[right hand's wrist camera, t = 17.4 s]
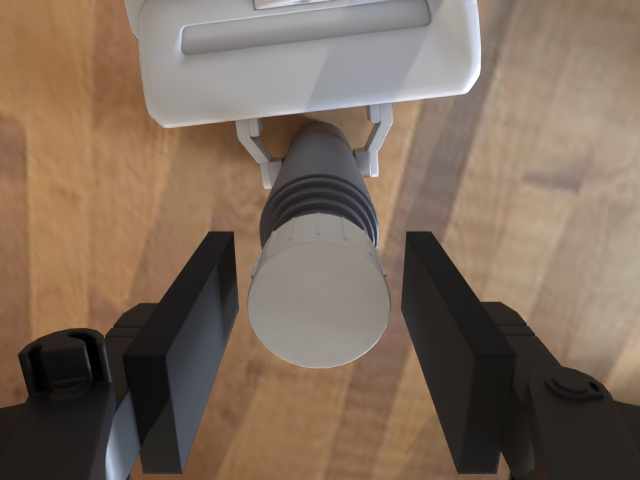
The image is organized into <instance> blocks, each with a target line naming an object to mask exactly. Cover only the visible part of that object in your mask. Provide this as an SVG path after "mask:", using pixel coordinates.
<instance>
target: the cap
mask: <svg viewBox="0 0 640 480" xmlns="http://www.w3.org/2000/svg"><path fill="white" fill-rule="evenodd" d="M385 276H386V273H385V270H384V267H383V264H382V260H381V257H380V254H379V251H378V249H375V247H374V245H373V243H372V241H371V240H370V238H369V237H368V236H367V235H366V232H365V230H363V231H362V230H361V229H360V228H359V227H358V226H356V225H355V224H354V223H352V222H350V221H348V220H346V219H345V218H344V217H342V218H341V217H338V216H334V215H330V214H320V213H317V214H309V215H304V216H300V217H297V218H295V217H294V218H292V220H290V221H288V222H286V223H285V224H283V225H282V226H280V227H279V228H278V229H277V230H276V231H273V232H272V234H271V236H270V237H269V239H268V240H267V242H266V244H265V245H264V247H263V250H262V251H261V250H260V252H259V255H258V258H257V261H256V264H255V267H254V270H253V272H252V275H251V278H253V279H252V282H251V286H250V289H249V293H248V302H247V307H248V315H249V320H250V323H251V325H252V328H253V330H254V332H255V334H256V335H257V337H258V338H259V340H260V341H261V342H262V343H263V345H264V346H265V347H266V348H267V349H268V350H270V351H271V352H272V353H273V354H275V355H276V356H278V357H280V358H281V359H283V360H285V361H287V362H290V363H293V364H296V365H299V366H303V367H310V368H328V367H335V366H339V365H343V364H345V363H348V362H351V361H353V360H355V359H357V358H359V357H360V356H362V355H363V354H365V353H366V352H367V351H368V350H369V349H371V348H372V347H373V346H374V344H375V343H376V342H377V341H378V340H379V338H380V337H381V335H382V334H383V332H384V330H385V328H386V325H387V323H388V320H389V315H390V305H391V302H390V294H389V290H388V286H387V283H386V280H385Z"/></svg>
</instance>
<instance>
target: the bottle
mask: <svg viewBox="0 0 640 480" xmlns="http://www.w3.org/2000/svg"><path fill="white" fill-rule="evenodd" d="M317 213H320V214H330V215H334V216H338V217H341V218H342V217H344V218H345V219H346V220H348V221H350V222H352V223H354V224H355V225H356V226H358V227H359V228H360V229H361V230H362V231H363V230H365V232H366V235H367V236H368V237H369V238H370V240H371V241H372V243H373V245H374V247H375V249H377V245H378V238H379V221H378V217H377V213H376V210H375V208H374V205H373V203H372V200H371V198H370V195H369V193H368V190H367V188H366V185H365V183H364V181H363V178H362V176H361V173H360V171H359V168H358V166H357V163H356V161H355V158H354V156H353V153H352V151H351V148H350V146H349V143H348V141H347V139H346V137H345V135H344V134H343V133H342V132H341V131H340V130H339V129H338V128H337V127H335V126H333V125H331V124H328V123H323V122H316V123H311V124H308V125H306V126H304V127H303V128H302V129H300V130H299V131H298V132H297V133H296V135H295V136H294V138H293V140H292V142H291V145H290V147H289V149H288V152H287V154H286V157H285V159H284V161H283V164H282V166H281V169H280V171H279V173H278V176H277V178H276V180H275V183H274V185H273V188H272V190H271V192H270V195H269V197H268V200H267V202H266V204H265V207H264V209H263V212H262V215H261V220H260V229H259V232H260V240H261V247H262V250H263V247H264V245H265V244H266V242H267V240H268V239H269V237H270V236H271V234H272V232H273V231H276V230H277V229H278V228H279V227H280V226H282V225H283V224H285V223H286V222H288V221H290V220H292V218H294V217H295V218H297V217H300V216H304V215H309V214H317Z"/></svg>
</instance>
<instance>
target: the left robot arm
mask: <svg viewBox="0 0 640 480" xmlns="http://www.w3.org/2000/svg"><path fill="white" fill-rule="evenodd" d="M124 3H125V7H126V11H127V15H128V20H129V24H130V27H131V30H132V32H133V34H134V36H135V38H136V39H137V40H138V47H139V60H140V70H141V78H142V84H143V91H144V97H145V102H146V107H147V110H148V113H149V115H150V116H151V117H152V118H153V119H154V120H155V121H156V122H158V123H159V124H160V125H161V126H162V127H164V128H174V127H182V126H191V125H200V124H208V123H217V122H226V121H234V120H235V124H236V129H237V135H238V139H239V141H240V142H241V143H242V144H243V146H244V147H245V148H246V149H247V151H248V152H249V153H250V154H251V156H252V157H253V158H254V159H255V161H256V162H257V163H260V168H261V174H262V181H263V186H264V189H268V188H273V185H274V183H275V180H276V178H277V176H278V173H279V171H280V169H281V166H282V164H283V161H284V157H274V158H272V156H271V155H270V153H269V152H268V151H267V149H266V148H265V147H264V145H263V144H262V143H261V141H260V140H259V139H258V137H257V136H259V135H260V134H261V133H262V132H263V125H262V118H261V117H269V116H278V115H286V114H295V113H304V112H312V111H321V110H330V109H338V108H347V107H356V106H364V105H366V106H367V118H368V120H369V121H371V122H372V123H375V124H374V127H373V129H372V131H371V133H370V135H369V138H368V140H367V142H366V144H365V146H364V147H363V148H356V149H353V156H354V158H355V161H356V163H357V166H358V168H359V171H360V173H361V176H362V178H369V177H378V157H377V150H379V149H380V147H381V145H382V143H383V141H384V139H385V137H386V135H387V133H388V131H389V129H390V127H391V125H392V123H393V113H392V102H399V101H408V100H416V99H425V98H434V97H442V96H451V95H459V94H465V93H467V92H468V91H469V90H470V89H471V87H472V86H473V85H474V83H475V82H476V80H477V78H478V77H479V74H480V67H481V46H480V28H479V17H478V8H477V0H124Z"/></svg>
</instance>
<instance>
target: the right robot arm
mask: <svg viewBox="0 0 640 480" xmlns="http://www.w3.org/2000/svg"><path fill="white" fill-rule="evenodd" d="M238 310H239V303H238V289H237V275H236V261H235V247H234V233H233V232H208V234H207V235H206V237H205V238H204V240H203V241H202V242H201V244H200V245H199V247H198V248H197V249H196V251H195V252H194V254H193V255H192V257H191V258H190V259H189V261H188V262H187V264H186V265H185V267H184V268H183V269H182V271H181V272H180V274H179V275H178V277H177V278H176V279H175V281H174V282H173V284H172V285H171V287H170V288H169V289H168V291H167V292H166V294H165V295H164V296H163V298H162V299H161V301H160V302H159V303H140V304H138V305H136V306H135V307H133V308H132V309H130V310H128V311H127V312H125V313H123V315H122V316H121V317H120V318H119V320H118V321H117V322H116V323H115V324H114V327H113V328H111V329H110V330H109V332H108V333H107V334H106V335H105V338H104V336H103V335H102V334H101V333H100V332H98V331H97V330H93V329H88V328H74V329H67V330H62V331H57V332H54V333H51V334H48V335H46V336H43V337H41V338H38V339H37V340H35V341H33V342H32V343H30V344H28V345H27V346H26V347H25V348H24V349H23V350H22V351H21V352H20V353H19V354H18V357H19V361H20V365H21V368H22V372H23V375H24V379H25V383H26V386H27V390H28V394H29V396H28V399H27V401H26V403H22V404H19V405H14V406H9V407H4V408H0V480H131V475H130V471H131V469H132V467H133V465H134V462H135V460H136V458H137V456H138V454H139V452H140V458H141V463H142V469H143V474H182V473H183V470H184V467H185V464H186V461H187V458H188V455H189V452H190V449H191V447H192V444H193V441H194V438H195V435H196V432H197V429H198V426H199V423H200V420H201V418H202V415H203V412H204V409H205V406H206V403H207V400H208V397H209V394H210V391H211V388H212V386H213V383H214V380H215V377H216V374H217V371H218V368H219V365H220V362H221V359H222V357H223V354H224V351H225V348H226V345H227V342H228V339H229V336H230V333H231V330H232V328H233V325H234V322H235V319H236V316H237V313H238ZM401 310H402V313H403V316H404V319H405V322H406V325H407V328H408V330H409V333H410V336H411V339H412V342H413V345H414V348H415V351H416V354H417V357H418V359H419V362H420V365H421V368H422V371H423V374H424V377H425V380H426V383H427V386H428V388H429V391H430V394H431V397H432V400H433V403H434V406H435V409H436V412H437V415H438V417H439V420H440V423H441V426H442V429H443V432H444V435H445V438H446V441H447V444H448V447H449V449H450V452H451V455H452V458H453V461H454V464H455V467H456V470H457V473H458V474H497V469H498V463H499V458H500V452H502V454H503V456H504V458H505V460H506V462H507V464H508V466H509V468H510V475H509V480H640V406H636V405H631V404H626V403H622V402H618V401H614V400H613V398H612V396H611V394H610V393H609V392H608V390H607V389H606V388H605V386H604V385H603V384H601V383H600V382H598V381H597V380H595V379H594V378H593V377H591V376H589V375H587V374H585V373H582V372H580V371H578V370H575V369H571V368H567V367H563V366H561V365H560V364H559V362H558V361H557V360H556V359H555V358H554V356H553V355H552V354H551V353H550V352H549V350H548V349H547V348H546V347H545V345H544V344H543V343H542V342H541V341H540V339H539V338H538V337H535V333H534V332H533V331H532V330H531V329H530V327H529V326H527V324H526V322H525V321H524V320H523V319H522V318H521V316H520V315H519V314H518V313H517V312H516V311H514V310H513V309H511V308H509V307H508V306H506V305H505V304H503V303H501V302H480V301H479V299H478V298H477V296H476V295H475V294H474V292H473V291H472V289H471V288H470V287H469V285H468V284H467V282H466V281H465V279H464V278H463V277H462V275H461V274H460V272H459V271H458V269H457V268H456V267H455V265H454V264H453V262H452V261H451V259H450V258H449V257H448V255H447V254H446V252H445V251H444V249H443V248H442V247H441V245H440V244H439V242H438V241H437V240H436V238H435V237H434V235H433V234H432V232H407V233H406V247H405V261H404V275H403V289H402V303H401Z"/></svg>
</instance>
